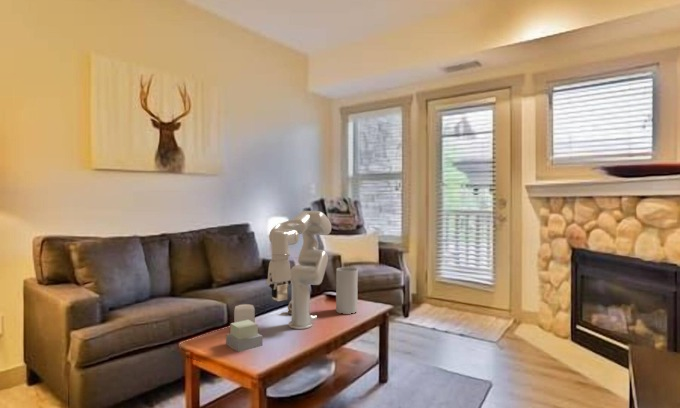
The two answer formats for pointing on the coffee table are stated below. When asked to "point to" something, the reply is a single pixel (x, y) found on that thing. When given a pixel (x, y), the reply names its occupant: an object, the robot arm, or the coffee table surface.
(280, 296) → the ash block
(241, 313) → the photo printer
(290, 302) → the decorative ornament
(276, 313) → the coffee table surface
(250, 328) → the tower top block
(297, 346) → the coffee table surface
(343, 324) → the coffee table surface
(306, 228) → the robot arm
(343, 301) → the cylinder vase
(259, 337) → the tower bottom block
